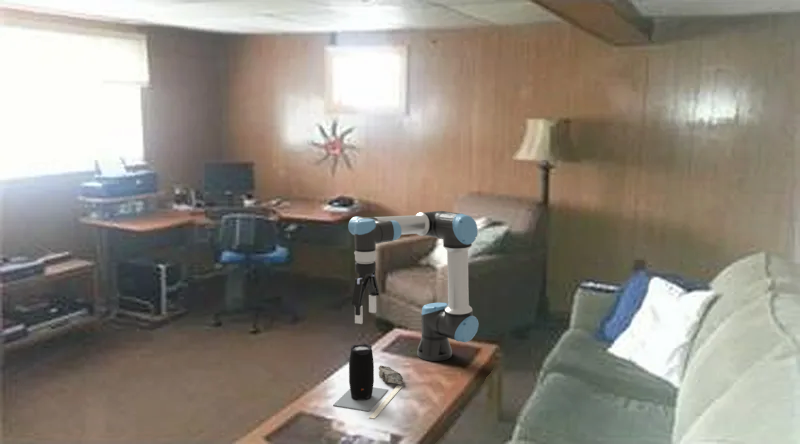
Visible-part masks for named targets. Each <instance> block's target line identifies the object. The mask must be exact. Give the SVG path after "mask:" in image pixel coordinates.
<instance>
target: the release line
mask: <svg viewBox="0 0 800 444" xmlns="http://www.w3.org/2000/svg"><path fill="white" fill-rule="evenodd" d="M402 388H403V385H396V386H395V387H394V388H393V390H392V391H391V392H390V393H389V394H388V395H387V397H385V399H384V400H383V401H382V402H381V403H380V405H378V407H376V409H375V410H374V411H373V412H372V413H371V415H370V416H369V417H368V419H371V420H372V419H373V420H375V419H376V417H378V415H379V414H380V413H381V412H382V411H383V410H384V409H385V407H387V405H388V404H389V403H390V402H391V401H392V400H393V398H394V397H395V396H396V395H397V393H398V392H399V391H400V390H401V389H402Z"/></svg>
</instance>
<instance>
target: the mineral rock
mask: <svg viewBox="0 0 800 444" xmlns="http://www.w3.org/2000/svg"><path fill="white" fill-rule="evenodd" d="M378 370H379V372H378V376H379V378H382V380H383V382H384V383H386V384H388V383H389V384H394V385H395V384H397V385H398V384H399V385H401V384H403V383H404V380H403V379H404V378H403V376H402V374H401V373H399V371H396V370H395V369H393V368H391V367H390V366H385V365H379V366H378Z"/></svg>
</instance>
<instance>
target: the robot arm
mask: <svg viewBox="0 0 800 444" xmlns="http://www.w3.org/2000/svg"><path fill="white" fill-rule="evenodd" d="M347 227H348V231H349V233H350V234H351V235H352V236H354V252H353V254H354V261H355V262H354V271H355V273H356V274H358V278H356V277H355V280H354V289H353V295H352V302H351V306H352V307H354V324H360V325H363V322H364V321H363V319H364V318H363V317H364V314H363V305H362V304H363V302H364V301H363V300H364V296H365V292H366V290H367V291H368V293H369V295H368V313H371V314H376V313H377V296H379V295H380V293H379V286H378V280H377V276H376V270H377V269H376V268H377V267H376V266H377V265H376V263H377V262H376V260H377V251H376V249H377V248H376V247H377V244H381V243H382V244H383V243H387V242H388V243H389V242H394V241H397V240H398V239H400V237H401V236H402V235H414V234H415V235H417V236H419V237H420V236H421V237H422V236H423V237H431V238H436V239H440V240H442V241H443V242H442V243H443V244H442V245H443V248H445V250H446V254H447V256H446V257H447V258H446V261H447V262H446V263H447V302H432V303H427V304H424V305H423V306H422V308H421V315H420V316H421V338H420V341H419V344H418V346H417V352H416V353H417V357H419V358H420V359H422V360H424V361H425V360H426V361H430V362H439V361H446V360H449V359H450V358H452V356H453V349H452V346H451V344H450V340H453V341H456V342H461V343H467V342H470V341H472V340H473V338H474V337H475V336H476V334H477V332H478V330H479V319H478V318H477V317H476V316H475V315H473V308H472V306H470V301H469V300H470V299H469V298H470V297H469V293H470V292H469V250H470V248H472V246H473V245H472V244H473V243H474V242H475V241H476V240H477V239H476V237H478V231H479V230H478V224H477V222H476V220H475V219H474V218H473V217H472V216H470V215H468V214H464V213H460V212H459V213H458V212H451V211H445V210H436V211H424V212H418V213H416V214H415V215H414V214H413V215H394V216H393V215H391V216H389V215H388V216H369V217H364V216H362V215H361V216H358V215H357V216H353V217H352V218H351V219H350V220H349V222H348V226H347ZM449 339H450V340H449Z"/></svg>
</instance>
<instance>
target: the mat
mask: <svg viewBox="0 0 800 444" xmlns="http://www.w3.org/2000/svg"><path fill="white" fill-rule="evenodd" d="M388 391H389V389H388V388H382V387H381V388H379V387H375V386H373V391H372V397H371V398H370V399H368V400H366V399H365V398H363V399H358V400H354V399H352V398H351V391H350V388H349V389H348V390H347V391H345V393H344V394H343V395H341V397H339V399H338V400H336V402H335V403H333V405H332V406H333V407H338V408H344V409H351V410H357V411H362V412H363V411H364V412H370V411H371V410H372V409H373V408H374V407H375V406H376V404H378V402H379V401H380V400H381V399H382V398H383V396H385V394H387V392H388Z"/></svg>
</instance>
